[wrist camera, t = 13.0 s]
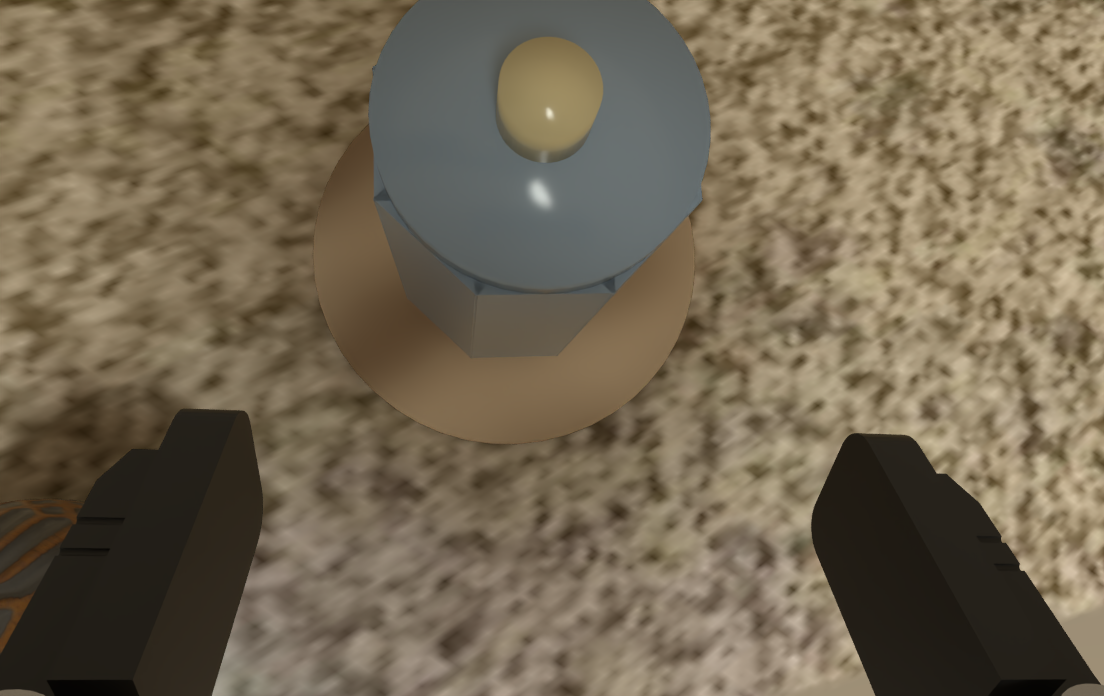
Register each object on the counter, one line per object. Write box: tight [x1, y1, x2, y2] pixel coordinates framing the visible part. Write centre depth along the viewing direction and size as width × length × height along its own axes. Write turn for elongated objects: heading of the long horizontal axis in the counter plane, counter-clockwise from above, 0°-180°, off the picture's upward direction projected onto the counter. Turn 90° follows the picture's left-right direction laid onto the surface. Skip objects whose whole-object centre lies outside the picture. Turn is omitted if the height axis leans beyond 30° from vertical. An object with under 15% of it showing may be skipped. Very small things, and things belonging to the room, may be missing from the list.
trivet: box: [313, 124, 695, 444], centre depth 25 cm, size 12×12×1 cm
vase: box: [0, 499, 84, 654], centre depth 18 cm, size 7×7×9 cm
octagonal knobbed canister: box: [368, 0, 710, 358], centre depth 19 cm, size 6×6×11 cm
